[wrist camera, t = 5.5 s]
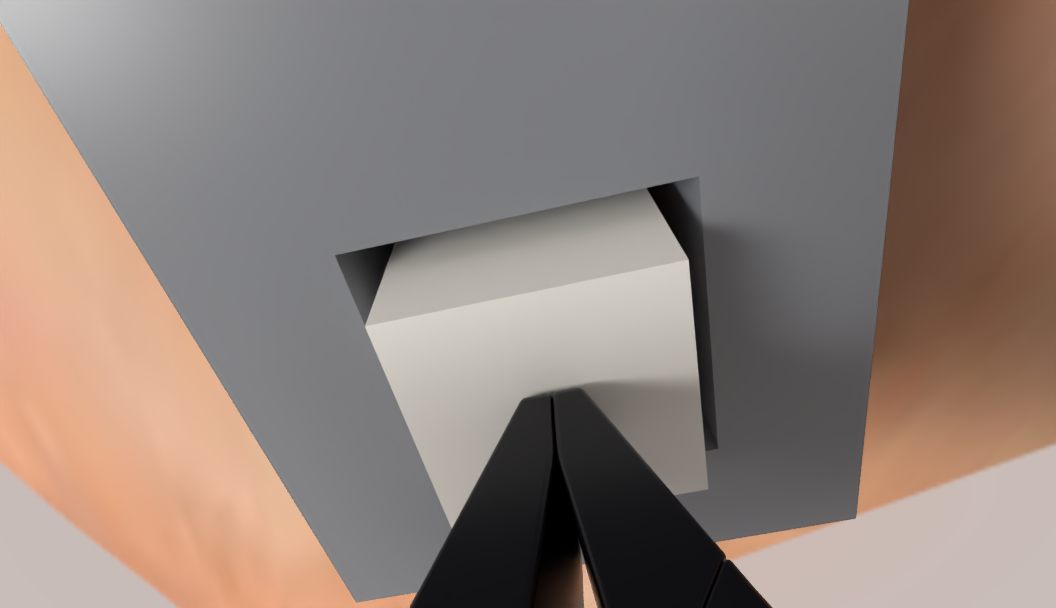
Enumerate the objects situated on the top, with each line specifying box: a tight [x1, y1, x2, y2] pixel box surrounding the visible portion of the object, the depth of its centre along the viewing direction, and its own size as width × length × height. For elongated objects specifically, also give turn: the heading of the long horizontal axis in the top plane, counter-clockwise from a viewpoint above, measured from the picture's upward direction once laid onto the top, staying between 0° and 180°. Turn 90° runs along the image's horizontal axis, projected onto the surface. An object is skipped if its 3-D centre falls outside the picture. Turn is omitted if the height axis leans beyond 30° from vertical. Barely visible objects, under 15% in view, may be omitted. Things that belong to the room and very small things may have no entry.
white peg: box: [365, 188, 708, 528], centre depth 10 cm, size 4×4×5 cm
